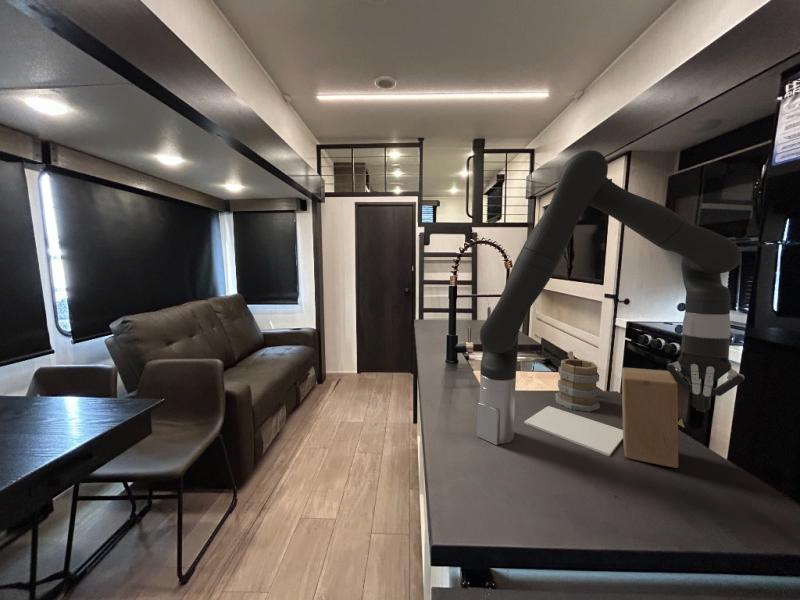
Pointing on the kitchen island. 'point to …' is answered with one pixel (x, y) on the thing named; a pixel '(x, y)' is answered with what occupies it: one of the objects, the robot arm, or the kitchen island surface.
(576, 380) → the tankard
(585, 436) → the mat
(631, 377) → the wooden block
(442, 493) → the kitchen island surface
